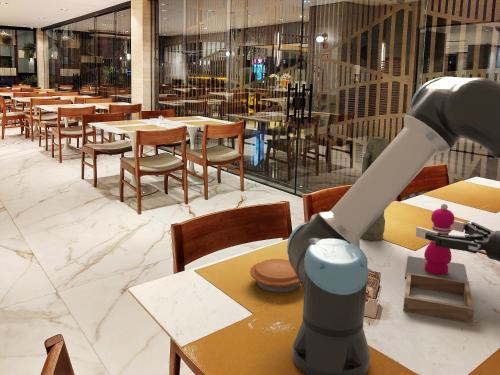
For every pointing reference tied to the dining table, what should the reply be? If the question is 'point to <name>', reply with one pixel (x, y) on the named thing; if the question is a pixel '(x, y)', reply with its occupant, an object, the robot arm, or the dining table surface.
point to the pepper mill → (439, 255)
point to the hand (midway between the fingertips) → (429, 226)
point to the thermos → (372, 153)
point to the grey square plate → (418, 267)
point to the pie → (275, 275)
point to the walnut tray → (438, 307)
